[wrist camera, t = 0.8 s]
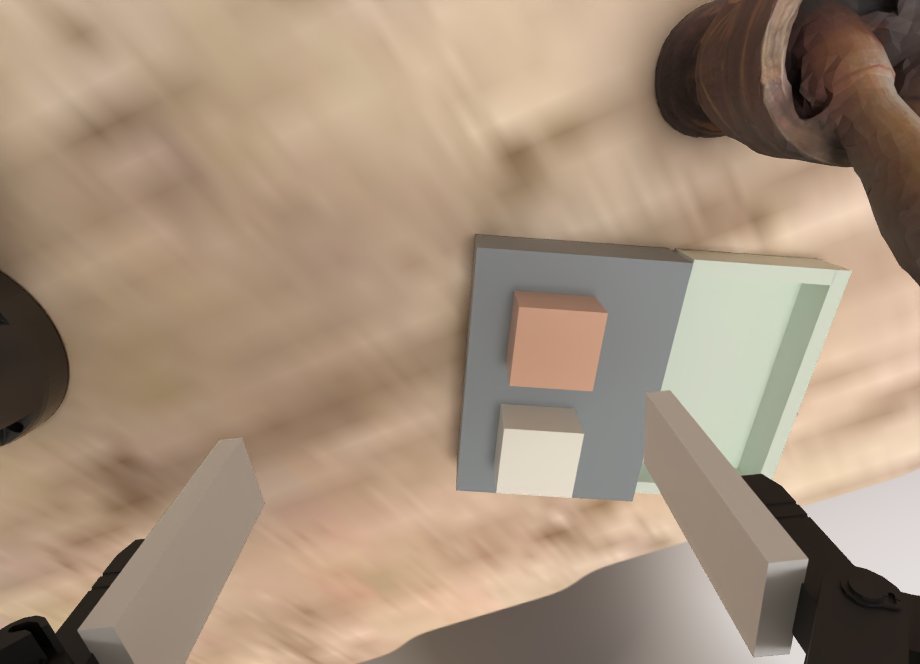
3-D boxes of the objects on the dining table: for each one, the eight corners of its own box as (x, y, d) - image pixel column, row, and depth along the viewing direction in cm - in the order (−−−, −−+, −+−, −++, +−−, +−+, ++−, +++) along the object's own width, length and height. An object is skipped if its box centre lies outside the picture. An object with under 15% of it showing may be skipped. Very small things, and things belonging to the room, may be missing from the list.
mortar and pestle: (800, 172, 31) (1278, 234, 13) (665, 217, 33) (926, 334, 14) (781, -35, 27) (1441, -374, 9) (627, 25, 29) (927, -163, 10)
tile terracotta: (505, 363, 32) (509, 385, 30) (514, 290, 30) (519, 306, 28) (581, 368, 32) (592, 391, 30) (595, 296, 31) (608, 313, 28)
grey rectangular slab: (457, 456, 40) (456, 490, 36) (475, 234, 33) (477, 247, 29) (616, 467, 40) (632, 501, 37) (667, 248, 33) (693, 263, 30)
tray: (622, 467, 40) (634, 492, 37) (675, 248, 33) (694, 259, 31) (743, 475, 40) (763, 500, 38) (819, 259, 34) (851, 271, 31)
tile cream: (493, 464, 35) (496, 492, 33) (500, 403, 33) (504, 428, 31) (563, 468, 35) (571, 497, 33) (574, 408, 34) (584, 433, 31)
